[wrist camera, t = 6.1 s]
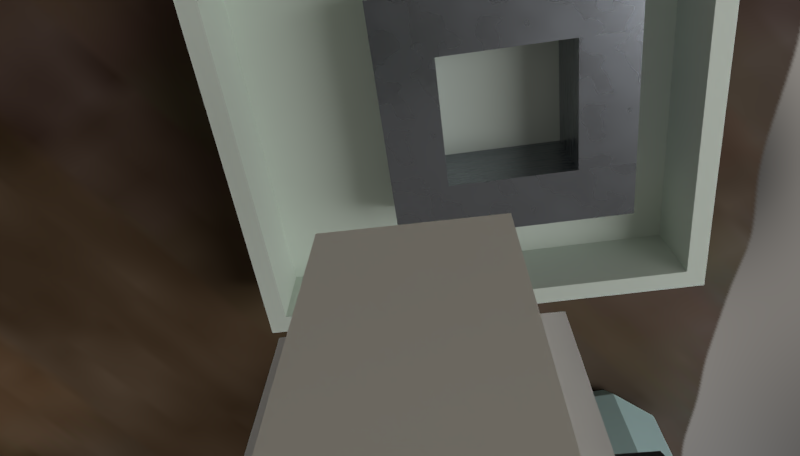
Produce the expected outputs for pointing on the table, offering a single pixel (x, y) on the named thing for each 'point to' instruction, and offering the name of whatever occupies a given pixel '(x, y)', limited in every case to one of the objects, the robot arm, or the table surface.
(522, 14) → the socket
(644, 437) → the water bottle
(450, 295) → the block
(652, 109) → the inlet box
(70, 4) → the table surface
